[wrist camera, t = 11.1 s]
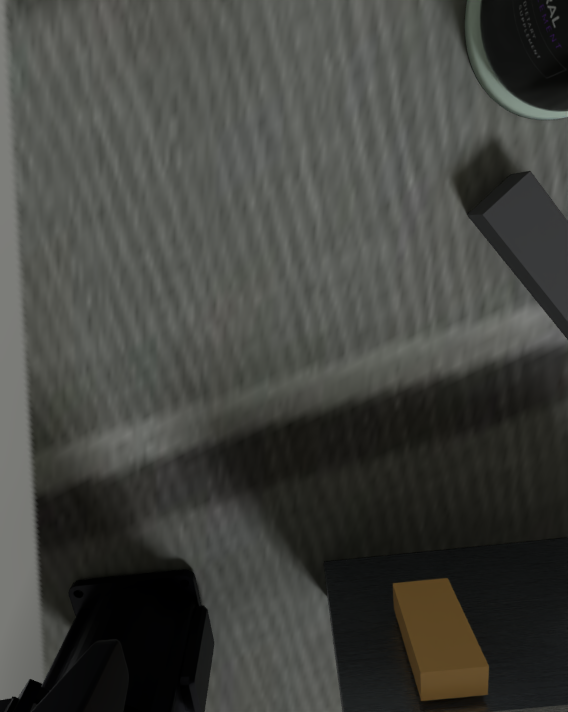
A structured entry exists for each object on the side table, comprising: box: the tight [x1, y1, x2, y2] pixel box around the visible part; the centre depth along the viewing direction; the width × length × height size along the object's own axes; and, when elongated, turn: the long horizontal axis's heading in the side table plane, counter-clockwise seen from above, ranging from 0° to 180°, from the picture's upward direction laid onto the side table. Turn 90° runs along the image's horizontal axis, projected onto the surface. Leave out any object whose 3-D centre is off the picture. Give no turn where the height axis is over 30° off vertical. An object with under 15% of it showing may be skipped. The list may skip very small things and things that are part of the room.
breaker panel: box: [324, 538, 568, 712], centre depth 19 cm, size 16×3×10 cm, turn 96°
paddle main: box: [393, 578, 489, 701], centre depth 18 cm, size 2×1×4 cm, turn 96°
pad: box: [465, 0, 568, 120], centre depth 16 cm, size 7×7×1 cm
